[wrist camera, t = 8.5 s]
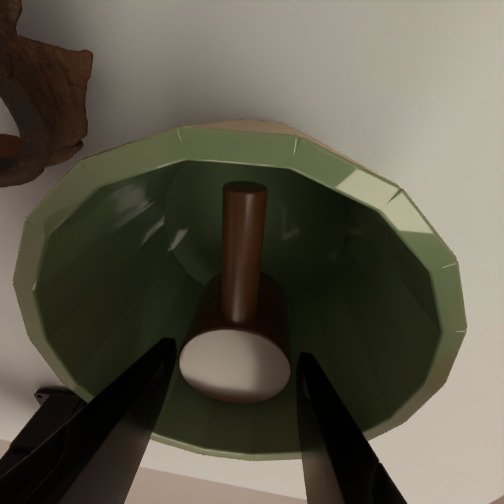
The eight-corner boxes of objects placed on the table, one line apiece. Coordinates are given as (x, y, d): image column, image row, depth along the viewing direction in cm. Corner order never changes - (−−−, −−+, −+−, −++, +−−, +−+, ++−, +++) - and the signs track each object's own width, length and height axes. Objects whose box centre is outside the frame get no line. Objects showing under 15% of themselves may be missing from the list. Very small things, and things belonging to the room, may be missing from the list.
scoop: (281, 337, 12) (284, 409, 9) (203, 329, 12) (181, 398, 9) (309, 170, 8) (330, 200, 5) (197, 161, 8) (156, 186, 5)
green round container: (330, 309, 16) (378, 477, 9) (168, 292, 16) (80, 440, 9) (381, 129, 11) (608, 159, 4) (146, 111, 11) (-96, 104, 4)
